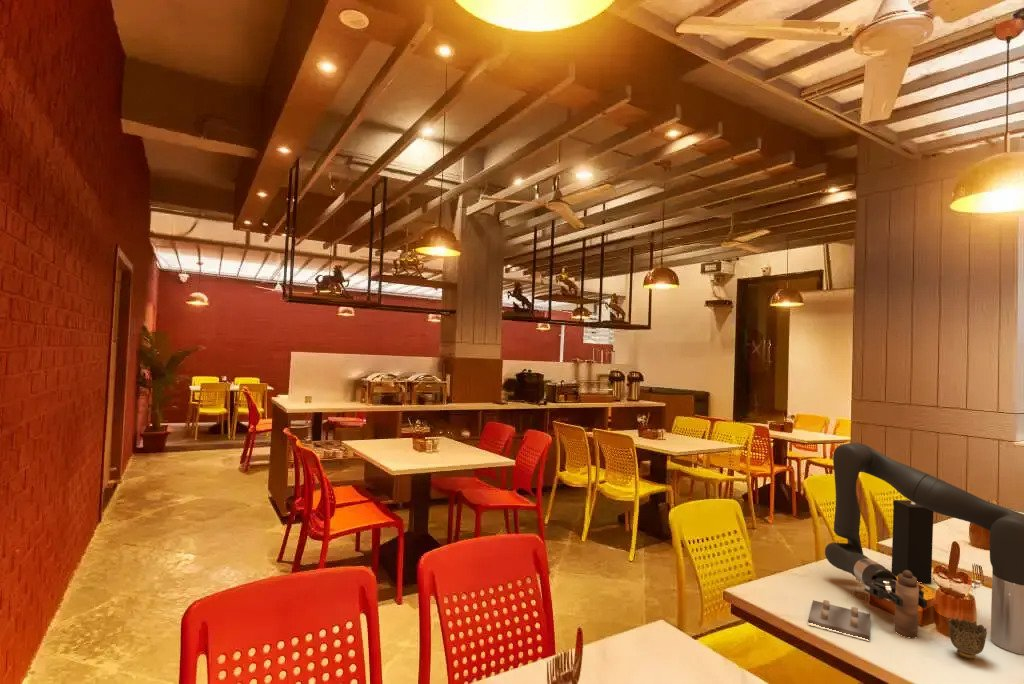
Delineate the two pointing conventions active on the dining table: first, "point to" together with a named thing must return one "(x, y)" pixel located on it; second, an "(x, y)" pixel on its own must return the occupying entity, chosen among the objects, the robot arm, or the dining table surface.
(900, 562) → the tissue box
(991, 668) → the dining table surface
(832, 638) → the dining table surface
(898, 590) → the pepper mill
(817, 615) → the board
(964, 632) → the cup
